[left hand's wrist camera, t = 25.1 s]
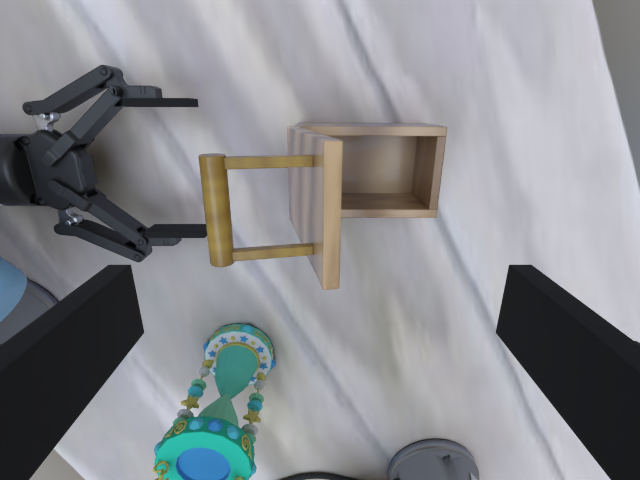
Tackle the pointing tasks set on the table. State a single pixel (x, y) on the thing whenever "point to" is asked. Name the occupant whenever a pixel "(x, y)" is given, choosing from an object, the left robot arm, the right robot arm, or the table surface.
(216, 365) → the decorative hourglass
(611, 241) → the table surface
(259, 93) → the table surface
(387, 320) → the table surface
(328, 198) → the cabinet door
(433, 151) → the wooden box
